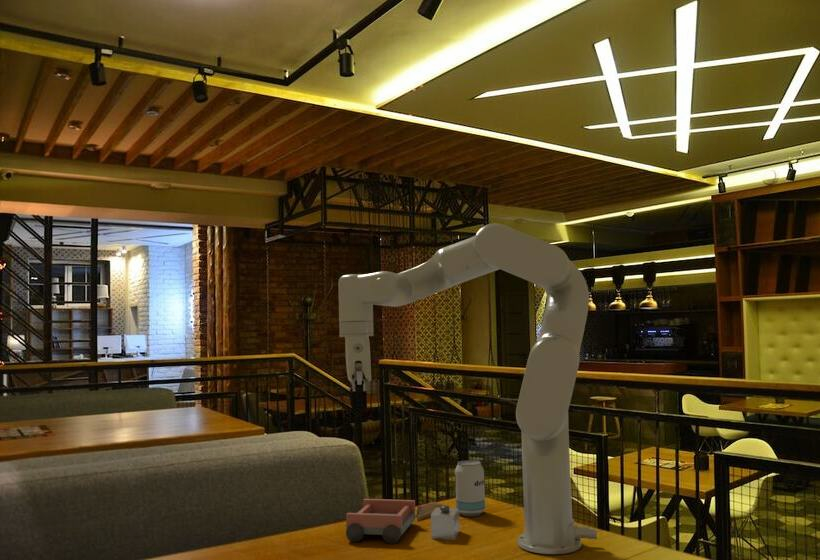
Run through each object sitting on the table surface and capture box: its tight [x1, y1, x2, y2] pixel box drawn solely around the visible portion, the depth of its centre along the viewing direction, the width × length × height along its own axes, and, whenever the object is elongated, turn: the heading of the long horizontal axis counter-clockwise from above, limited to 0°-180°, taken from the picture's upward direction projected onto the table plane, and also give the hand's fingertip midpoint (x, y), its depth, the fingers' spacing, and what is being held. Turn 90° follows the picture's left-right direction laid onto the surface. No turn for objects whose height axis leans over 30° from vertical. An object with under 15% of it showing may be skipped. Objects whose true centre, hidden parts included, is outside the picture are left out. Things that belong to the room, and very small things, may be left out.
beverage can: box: [454, 459, 486, 517], centre depth 159 cm, size 7×7×12 cm
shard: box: [415, 501, 445, 521], centre depth 160 cm, size 11×8×2 cm
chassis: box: [345, 498, 417, 545], centre depth 146 cm, size 12×15×6 cm
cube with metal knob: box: [430, 504, 460, 540], centre depth 143 cm, size 5×6×6 cm
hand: (358, 408), depth 146 cm, fingers open, 9 cm apart
